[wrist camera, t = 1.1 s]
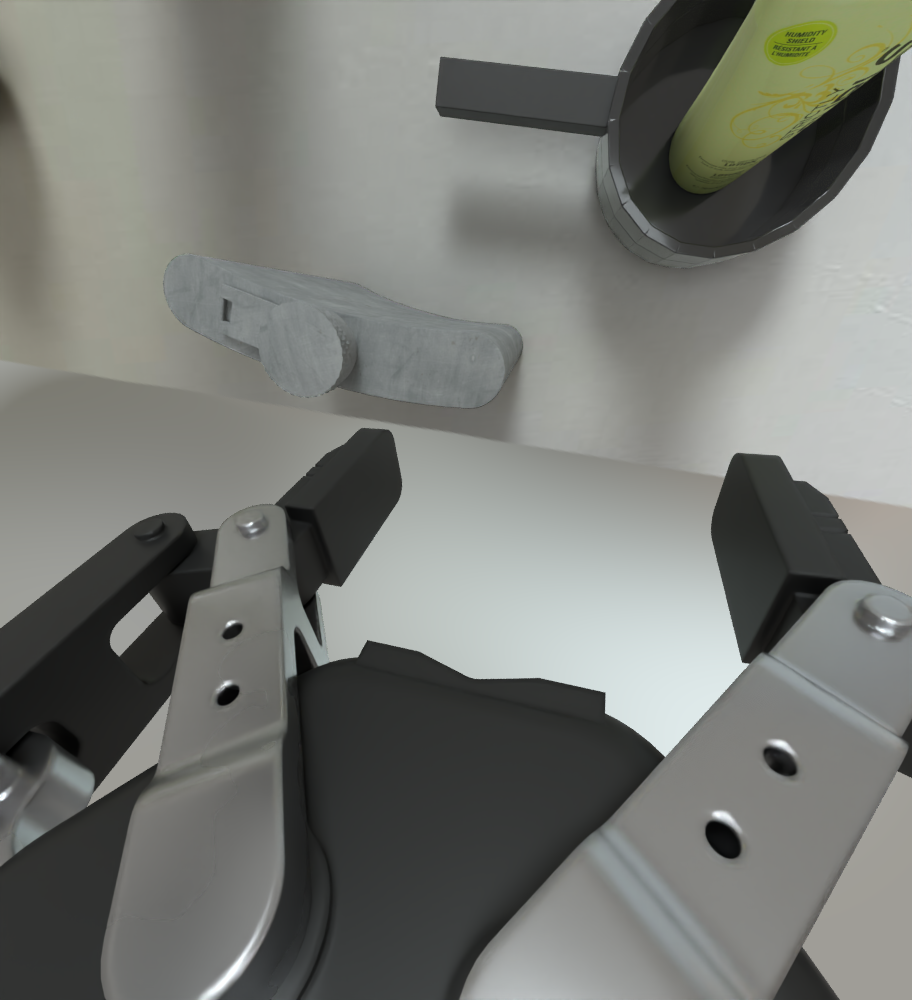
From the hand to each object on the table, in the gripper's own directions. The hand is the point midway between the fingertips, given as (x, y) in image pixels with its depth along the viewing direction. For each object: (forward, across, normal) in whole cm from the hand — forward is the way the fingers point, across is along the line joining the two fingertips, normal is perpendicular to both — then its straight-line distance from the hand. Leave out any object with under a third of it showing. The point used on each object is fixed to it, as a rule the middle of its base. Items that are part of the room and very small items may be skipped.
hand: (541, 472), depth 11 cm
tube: (+29, -6, -6) cm, 30 cm away
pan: (+29, -6, -6) cm, 31 cm away
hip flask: (+25, +13, +3) cm, 28 cm away
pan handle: (+25, +5, -9) cm, 27 cm away
